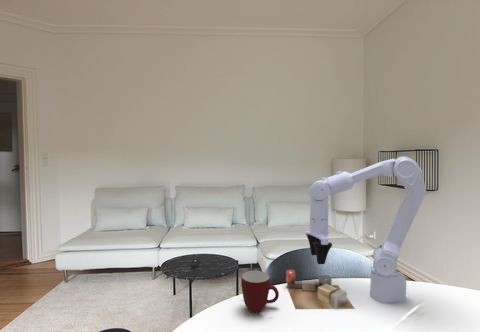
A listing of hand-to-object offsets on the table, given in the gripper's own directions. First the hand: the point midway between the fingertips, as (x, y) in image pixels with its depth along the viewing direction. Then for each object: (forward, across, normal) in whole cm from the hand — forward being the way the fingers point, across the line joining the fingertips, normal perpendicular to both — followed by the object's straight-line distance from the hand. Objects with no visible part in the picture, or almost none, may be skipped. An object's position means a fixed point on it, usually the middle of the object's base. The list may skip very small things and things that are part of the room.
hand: (317, 259), depth 105 cm
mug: (+10, +13, -20) cm, 26 cm away
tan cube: (+9, +9, +1) cm, 13 cm away
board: (+10, +7, -2) cm, 12 cm away
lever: (+9, +2, -3) cm, 9 cm away
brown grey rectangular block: (+10, +12, +3) cm, 16 cm away
